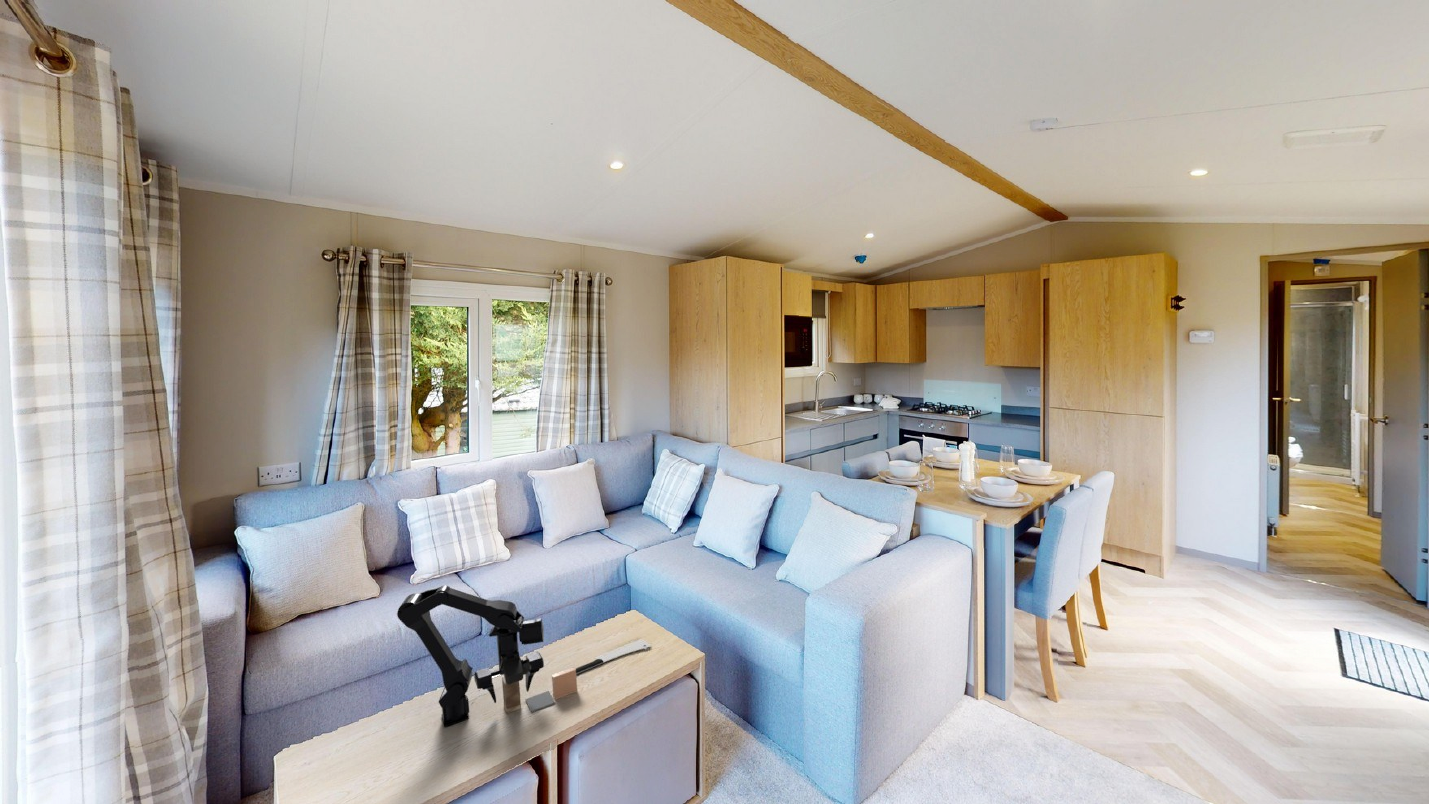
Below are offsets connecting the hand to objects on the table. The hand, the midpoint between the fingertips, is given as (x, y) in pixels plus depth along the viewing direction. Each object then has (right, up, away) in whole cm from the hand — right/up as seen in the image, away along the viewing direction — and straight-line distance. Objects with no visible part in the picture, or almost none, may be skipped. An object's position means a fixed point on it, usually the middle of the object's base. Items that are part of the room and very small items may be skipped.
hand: (511, 696), depth 161 cm
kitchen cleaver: (+23, -1, +25) cm, 34 cm away
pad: (+8, -3, +2) cm, 9 cm away
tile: (+14, -2, +6) cm, 16 cm away
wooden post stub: (0, -3, 0) cm, 3 cm away
